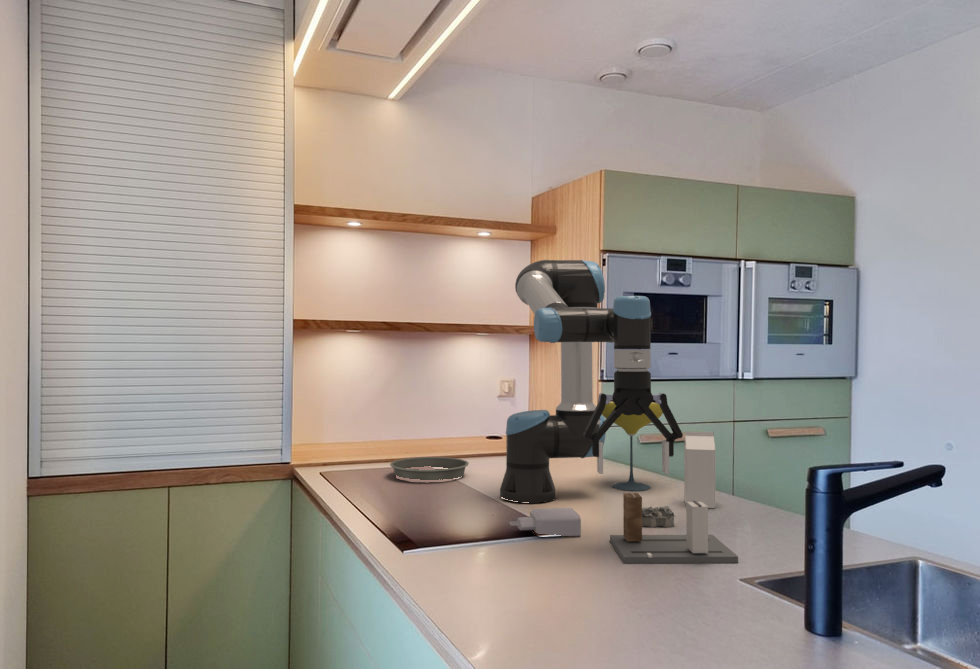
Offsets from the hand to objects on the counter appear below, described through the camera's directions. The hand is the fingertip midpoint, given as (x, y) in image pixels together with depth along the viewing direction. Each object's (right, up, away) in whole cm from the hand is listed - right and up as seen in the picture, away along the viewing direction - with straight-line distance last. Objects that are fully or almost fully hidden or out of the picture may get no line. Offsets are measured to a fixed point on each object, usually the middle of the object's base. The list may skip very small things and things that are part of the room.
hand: (632, 472), depth 144 cm
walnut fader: (0, -14, 0) cm, 14 cm away
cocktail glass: (+11, -16, +58) cm, 61 cm away
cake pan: (-49, -16, +74) cm, 90 cm away
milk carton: (+25, -16, +36) cm, 46 cm away
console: (+7, -15, -3) cm, 17 cm away
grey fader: (+11, -14, -8) cm, 19 cm away
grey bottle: (-18, -16, +10) cm, 26 cm away
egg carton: (+8, -16, +18) cm, 25 cm away
